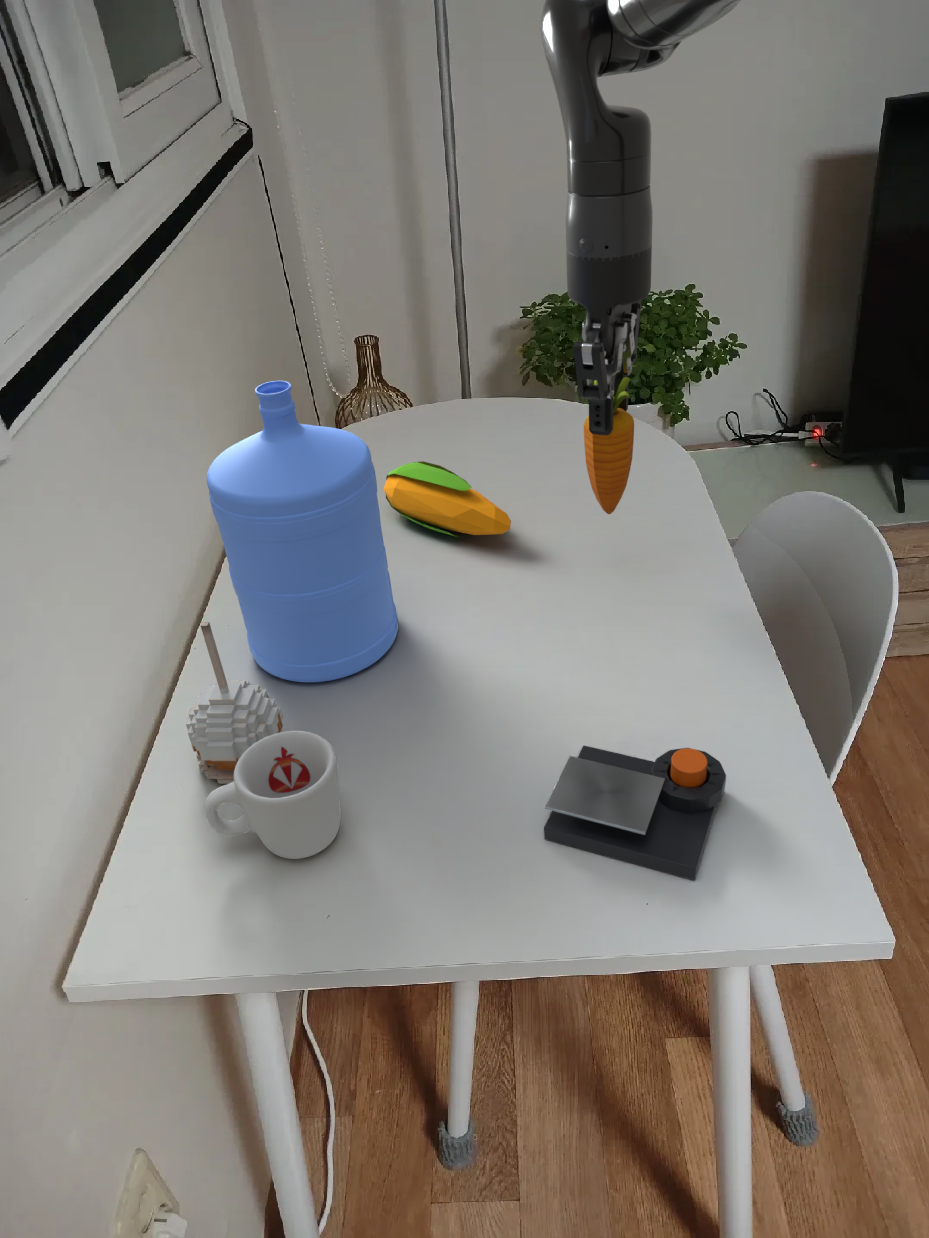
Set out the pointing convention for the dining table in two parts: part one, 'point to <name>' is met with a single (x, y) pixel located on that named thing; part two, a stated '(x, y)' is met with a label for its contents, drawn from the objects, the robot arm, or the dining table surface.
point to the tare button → (688, 768)
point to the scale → (672, 826)
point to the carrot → (610, 454)
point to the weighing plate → (606, 794)
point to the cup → (283, 794)
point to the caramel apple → (228, 719)
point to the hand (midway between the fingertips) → (608, 421)
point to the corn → (442, 501)
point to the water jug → (304, 544)
